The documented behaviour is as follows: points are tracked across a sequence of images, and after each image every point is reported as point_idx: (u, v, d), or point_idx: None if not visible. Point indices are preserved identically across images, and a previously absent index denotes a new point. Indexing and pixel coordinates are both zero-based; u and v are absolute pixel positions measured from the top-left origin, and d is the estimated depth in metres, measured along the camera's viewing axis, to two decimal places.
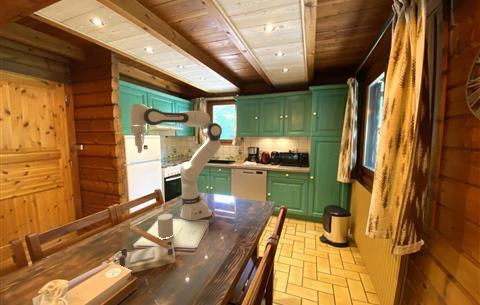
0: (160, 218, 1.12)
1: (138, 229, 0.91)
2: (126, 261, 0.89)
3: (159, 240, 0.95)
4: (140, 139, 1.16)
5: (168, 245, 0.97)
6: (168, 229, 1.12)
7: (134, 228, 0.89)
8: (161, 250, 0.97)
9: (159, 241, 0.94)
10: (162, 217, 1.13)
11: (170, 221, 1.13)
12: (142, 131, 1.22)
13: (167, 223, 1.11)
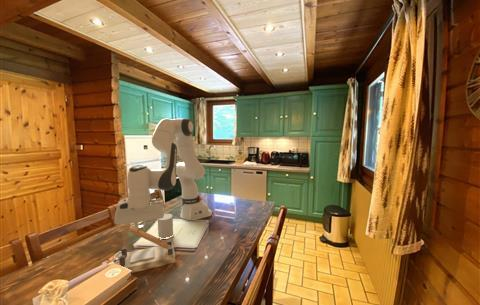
0: (160, 218, 1.12)
1: None
2: (126, 261, 0.89)
3: (159, 240, 0.95)
4: None
5: (168, 245, 0.97)
6: (168, 229, 1.12)
7: (133, 229, 0.89)
8: (161, 250, 0.97)
9: (159, 241, 0.94)
10: None
11: (170, 221, 1.13)
12: None
13: (167, 223, 1.11)
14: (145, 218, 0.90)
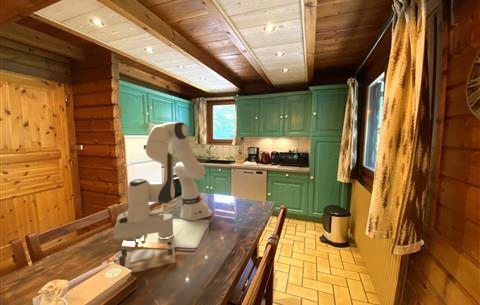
0: None
1: (130, 243, 0.90)
2: (126, 261, 0.89)
3: (156, 245, 0.95)
4: None
5: (167, 246, 0.97)
6: (168, 229, 1.12)
7: (125, 243, 0.89)
8: (161, 250, 0.97)
9: (156, 246, 0.94)
10: None
11: (170, 221, 1.13)
12: None
13: (167, 223, 1.11)
14: (144, 232, 0.90)
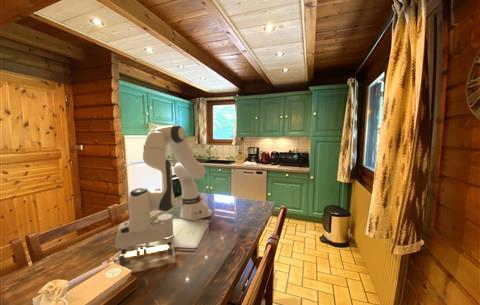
0: (160, 218, 1.12)
1: (128, 253, 0.91)
2: (126, 261, 0.89)
3: (155, 248, 0.95)
4: (163, 229, 0.96)
5: (167, 246, 0.97)
6: (168, 229, 1.12)
7: None
8: None
9: (155, 249, 0.94)
10: (162, 217, 1.13)
11: (170, 221, 1.13)
12: None
13: (167, 223, 1.11)
14: (146, 241, 0.91)
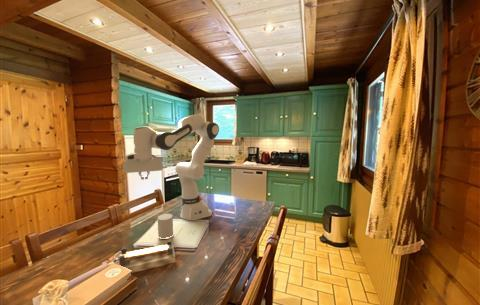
0: (160, 218, 1.12)
1: (128, 253, 0.91)
2: (126, 261, 0.89)
3: (155, 248, 0.95)
4: None
5: (167, 246, 0.97)
6: (168, 229, 1.12)
7: None
8: None
9: (155, 249, 0.94)
10: (162, 217, 1.13)
11: (170, 221, 1.13)
12: None
13: (167, 223, 1.11)
14: (148, 169, 1.11)
